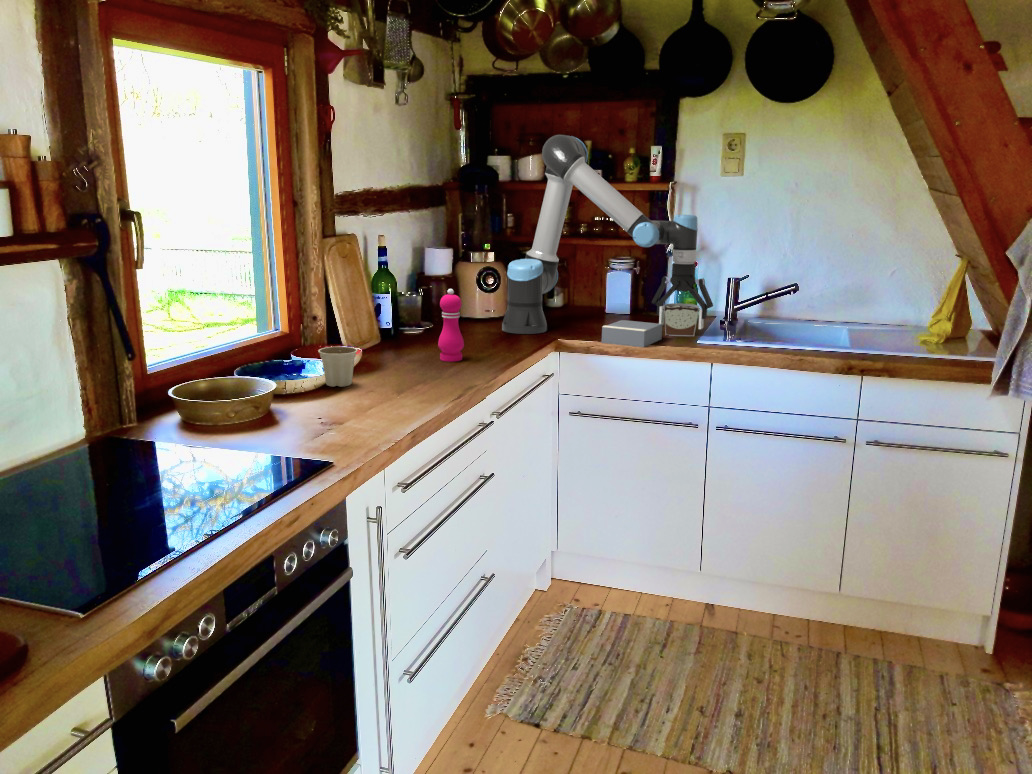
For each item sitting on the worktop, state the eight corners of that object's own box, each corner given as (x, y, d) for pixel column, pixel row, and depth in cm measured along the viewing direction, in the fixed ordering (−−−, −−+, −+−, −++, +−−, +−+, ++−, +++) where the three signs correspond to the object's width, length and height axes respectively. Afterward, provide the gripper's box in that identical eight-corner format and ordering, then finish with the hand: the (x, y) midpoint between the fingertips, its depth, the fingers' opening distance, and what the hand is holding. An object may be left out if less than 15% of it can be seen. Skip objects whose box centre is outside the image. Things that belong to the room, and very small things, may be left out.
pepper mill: (449, 355, 239) (448, 286, 234) (469, 358, 235) (469, 288, 230) (433, 359, 234) (432, 288, 229) (452, 363, 230) (452, 291, 225)
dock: (601, 342, 261) (602, 326, 260) (621, 334, 275) (621, 319, 273) (643, 347, 254) (644, 330, 253) (661, 339, 268) (662, 323, 267)
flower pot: (365, 381, 208) (364, 347, 206) (346, 390, 199) (345, 355, 197) (332, 378, 211) (331, 345, 208) (312, 387, 202) (310, 352, 200)
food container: (696, 333, 280) (698, 303, 277) (698, 336, 274) (700, 306, 271) (659, 332, 281) (661, 302, 278) (661, 335, 275) (662, 305, 272)
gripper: (643, 262, 274) (641, 325, 279) (718, 265, 262) (714, 331, 267) (651, 260, 281) (649, 322, 286) (724, 263, 269) (721, 328, 274)
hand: (680, 327), depth 276 cm, fingers open, 13 cm apart
